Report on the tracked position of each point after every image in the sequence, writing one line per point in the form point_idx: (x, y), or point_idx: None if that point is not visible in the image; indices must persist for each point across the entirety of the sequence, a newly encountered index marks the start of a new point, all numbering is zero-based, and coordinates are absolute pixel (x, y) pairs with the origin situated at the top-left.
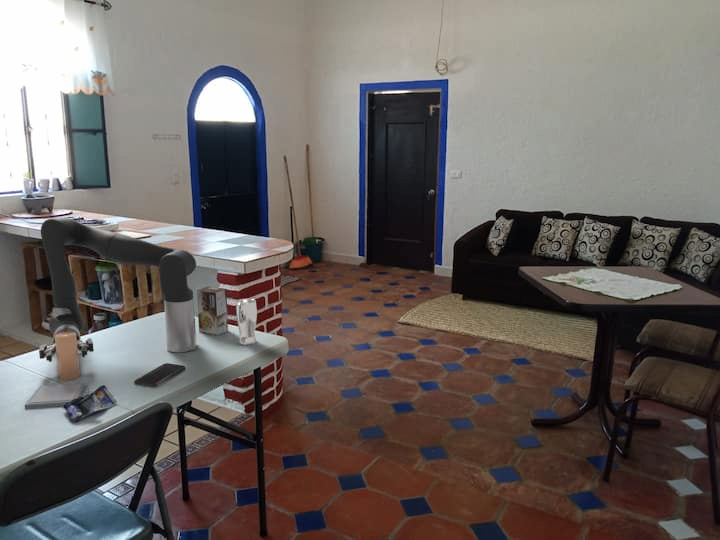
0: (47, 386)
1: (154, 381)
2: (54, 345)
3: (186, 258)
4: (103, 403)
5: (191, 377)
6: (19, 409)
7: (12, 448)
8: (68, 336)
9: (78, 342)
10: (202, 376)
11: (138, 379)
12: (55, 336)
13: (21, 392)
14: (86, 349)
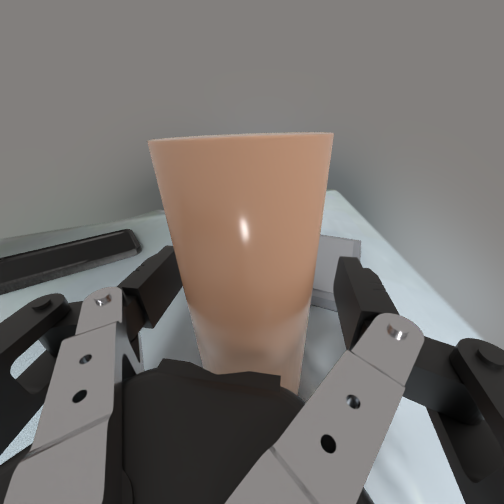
0: (329, 288)
1: (113, 238)
2: (358, 376)
3: None
4: None
5: (53, 238)
6: (370, 249)
7: (339, 199)
8: (231, 134)
9: (95, 335)
10: (40, 235)
11: (123, 252)
12: (323, 133)
13: (417, 321)
14: (141, 267)
